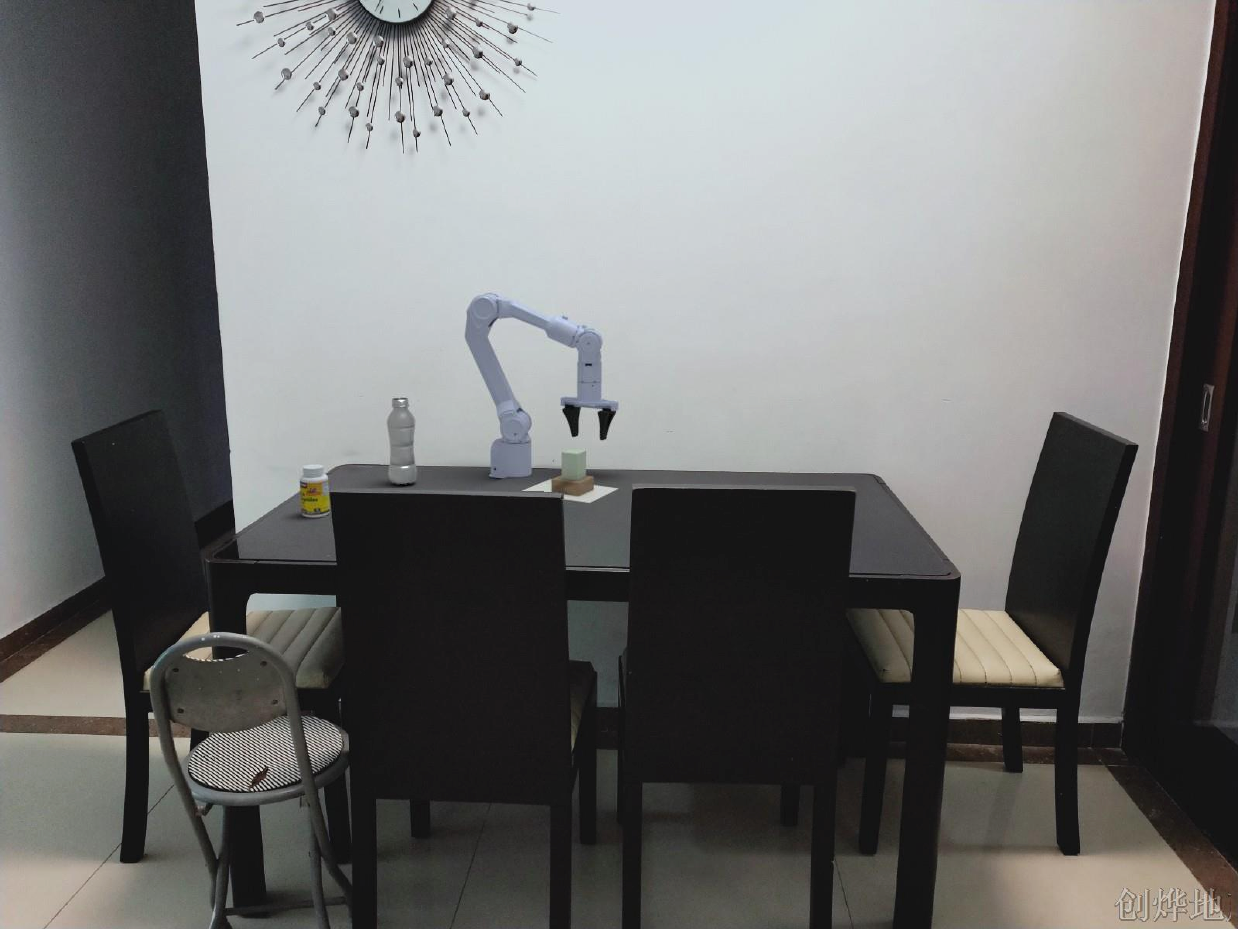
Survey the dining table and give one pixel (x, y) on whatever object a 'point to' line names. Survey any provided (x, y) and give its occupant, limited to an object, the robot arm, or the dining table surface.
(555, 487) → the walnut base
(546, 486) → the plate
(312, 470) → the supplement bottle
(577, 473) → the sage block
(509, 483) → the dining table surface
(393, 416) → the plastic bottle
